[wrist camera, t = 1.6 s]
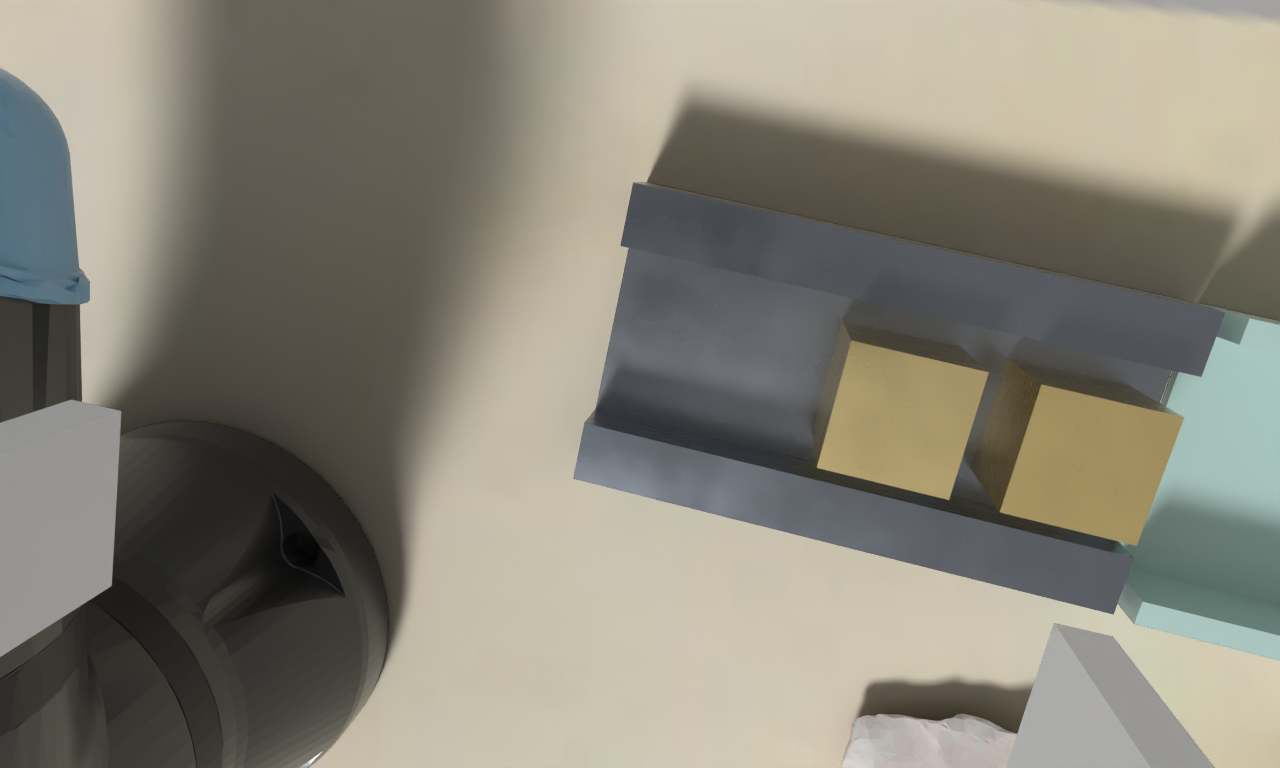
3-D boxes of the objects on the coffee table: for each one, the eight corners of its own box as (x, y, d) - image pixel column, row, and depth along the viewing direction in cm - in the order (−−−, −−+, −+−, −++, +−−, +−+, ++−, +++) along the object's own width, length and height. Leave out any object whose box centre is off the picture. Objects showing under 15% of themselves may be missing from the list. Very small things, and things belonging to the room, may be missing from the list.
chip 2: (971, 470, 31) (999, 512, 27) (1007, 358, 30) (1041, 384, 26) (1091, 499, 31) (1136, 545, 27) (1131, 386, 30) (1184, 417, 26)
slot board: (590, 452, 34) (573, 478, 31) (646, 182, 32) (633, 182, 29) (1083, 575, 32) (1113, 614, 30) (1181, 299, 30) (1225, 312, 27)
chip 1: (811, 432, 32) (816, 467, 28) (841, 320, 31) (851, 340, 27) (927, 460, 31) (949, 500, 27) (961, 347, 30) (988, 372, 26)
